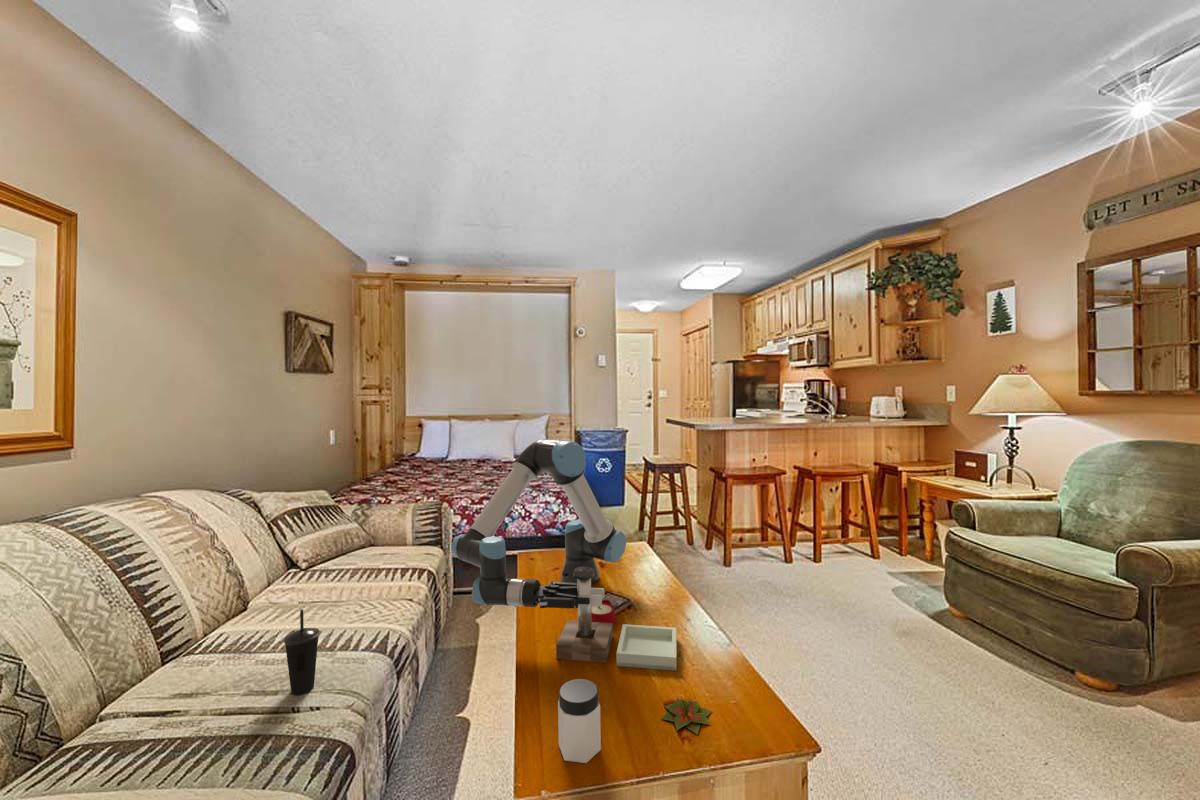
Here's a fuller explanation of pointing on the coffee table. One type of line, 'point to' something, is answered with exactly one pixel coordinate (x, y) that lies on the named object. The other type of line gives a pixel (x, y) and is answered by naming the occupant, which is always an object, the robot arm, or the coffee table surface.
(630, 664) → the sage tray
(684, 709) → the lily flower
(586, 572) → the steel pin
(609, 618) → the alarm clock
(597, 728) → the jar
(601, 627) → the brown square frame
